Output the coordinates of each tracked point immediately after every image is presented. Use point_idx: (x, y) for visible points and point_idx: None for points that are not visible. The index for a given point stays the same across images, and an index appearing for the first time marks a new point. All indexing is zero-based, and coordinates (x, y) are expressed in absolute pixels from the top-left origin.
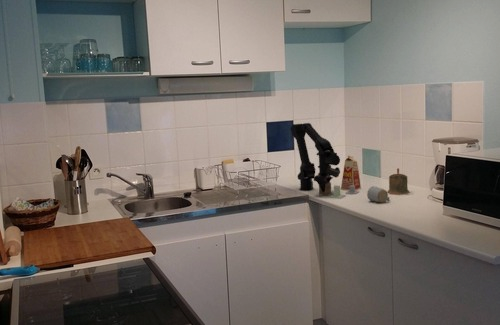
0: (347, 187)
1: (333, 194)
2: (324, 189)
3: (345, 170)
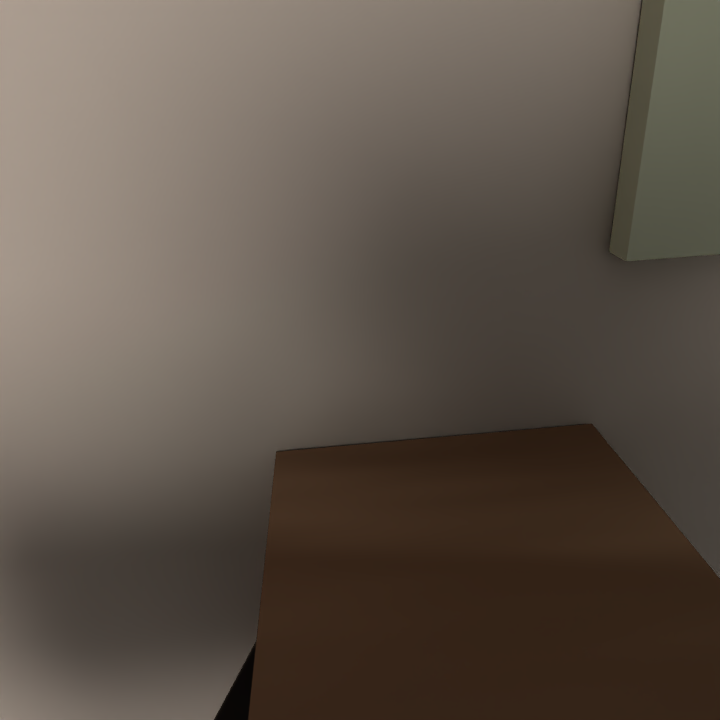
0: None
1: (673, 224)
2: None
3: None
